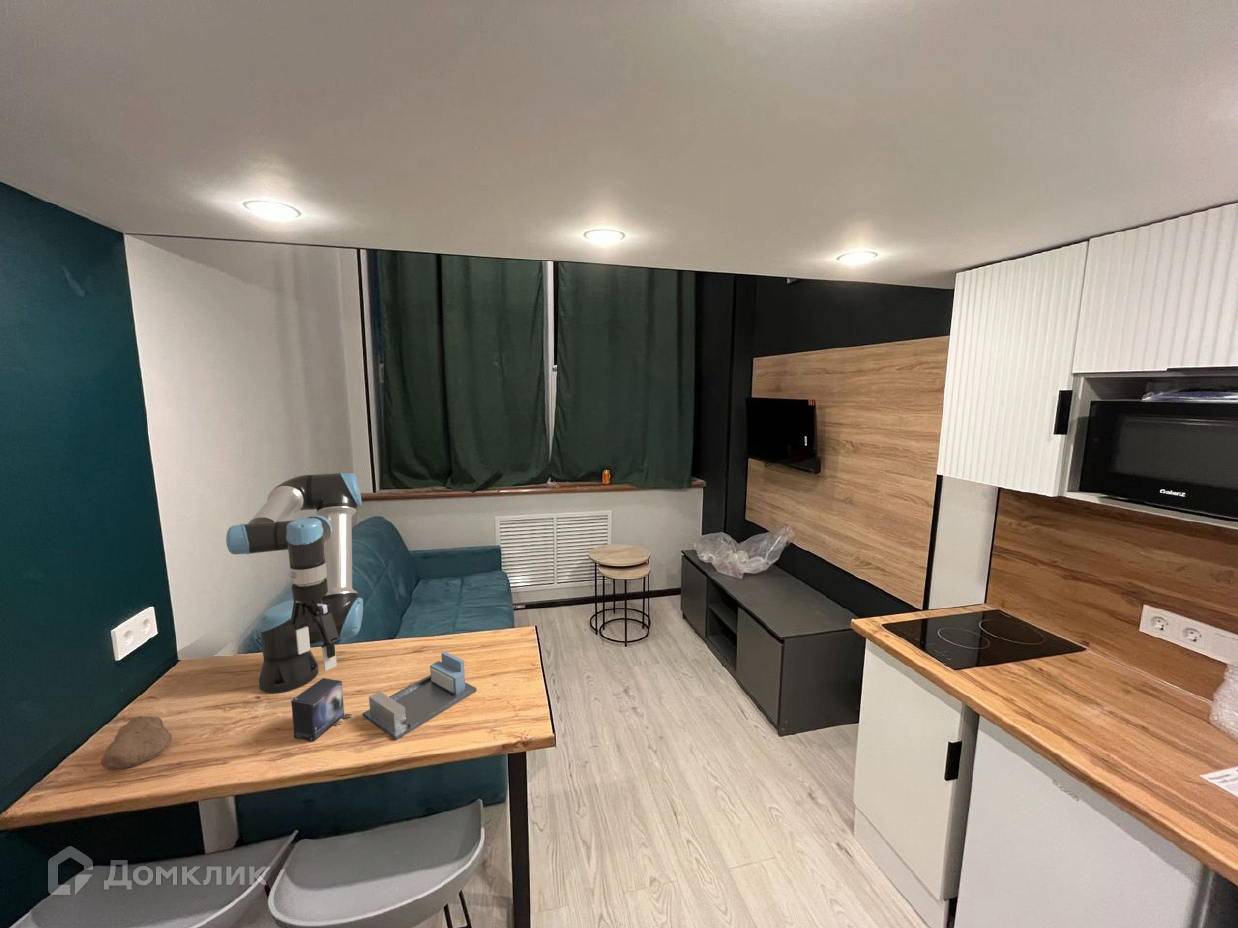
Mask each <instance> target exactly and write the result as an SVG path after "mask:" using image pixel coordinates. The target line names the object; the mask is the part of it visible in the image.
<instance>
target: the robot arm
mask: <svg viewBox="0 0 1238 928" xmlns="http://www.w3.org/2000/svg"><path fill="white" fill-rule="evenodd" d="M362 503H363V502H362V493H361V490H360V485H359V481H358V477H357V476H356V474H354V473H353V472H339V473H337V472H336V473H321V474H320V473H319V474H318V473H317V474H303V475H299V476H295V477H292V478H290V479H287V480H285V481H283V482H281V483H280V484H278V485H276V486H275V487H274V488H273V489H272V490H271V491H270V492H269V494H268V495H267V500H266V502H265V504H264V505H263V506H261V508H260V509H259V511H258V512H257V513H256V514H255V515H254V516H253V517H252V519H251V520H250V521H249V522H248V523H240V524H234V525H232V526H230V527H229V528H228V529H227V533H226V540H225V541H226V542H225V543H226V548H227V550H228V552H229V553H230V554H232V555H250V554H259V553H268V552H276V551H287V550H288V553H287V554H288V562H289V569H290V573H289V574H288V577H289V578H290V579H291V581H290V582H291V584H292V585H291V591H292V600H288V601H284V602H280V603H278V604H276V605H273V606H272V607H270V608H268V609H266V610H265V611H264V612H262V614H261V615H260V618H259V632H260V641H261V648H262V657H263V663H262V665H261V670H260V673H259V677H258V688H259V690H260V691H261V692H264V693H267V694H279V693H284V692H289V691H292V690H296V689H298V688H301V687H303V686H304V685H307V684H308V683H310V682H312V681H313V680H314V679H315V678H316V677H317V676H318V675H319V671H320V669H319V663H318V661H317V660H316V658H315V656H314V654H313V652H312V650H311V645H312V644H320V643H322V644H321V646H320V647H321V651H322V661H323V662H322V663H323V670H324V671H325V672H327V671H329V670H331V669H333V668H336V667H337V666H338V664H337V663H338V662H337V651H336V644H337V643H340V642H341V640H344V639H349V638H354V637H355V636H357V635H358V634H359V631H360V630H361V626H362V621H363V614H364V599H363V598H362V597H358V596H359V595H358V591H356V590H355V589H353V550H352V549H353V536H352V534H353V533H352V532H353V531H352V530H353V529H352V527H353V525H352V523H353V522H352V517H353V516H354V515H355V514H356V513H357V512H358V511H357V508H358V507H361V506H362ZM310 510H316V515H311V516H308V517H306V518H300V519H293V520H290V519H291V517H292V516H293V515H294V514H296V513H298V512H300V511H310Z"/></svg>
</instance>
